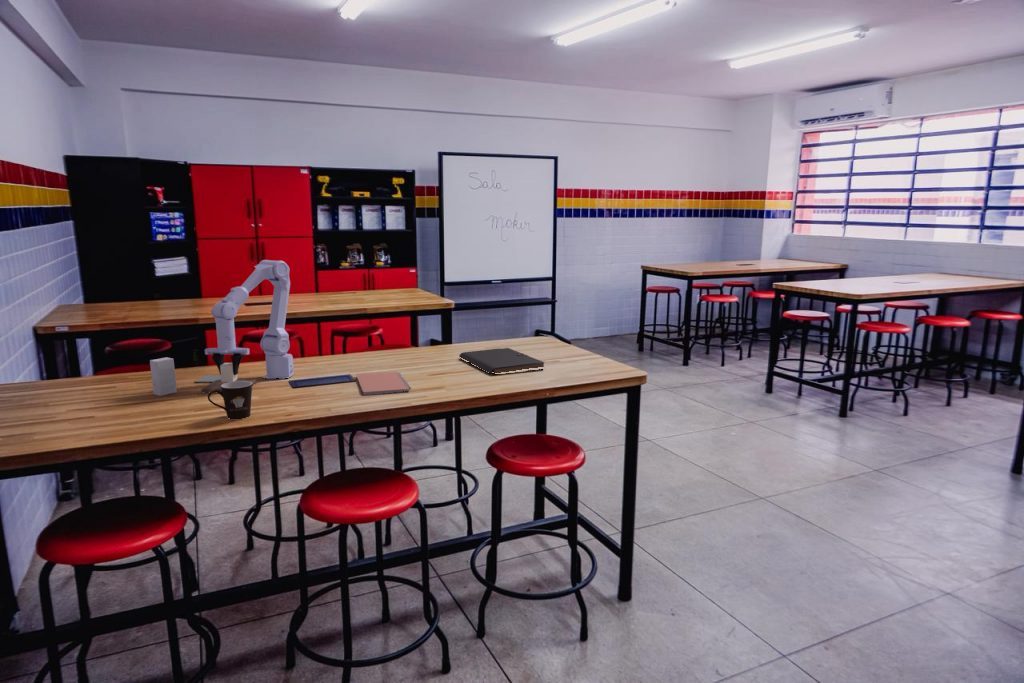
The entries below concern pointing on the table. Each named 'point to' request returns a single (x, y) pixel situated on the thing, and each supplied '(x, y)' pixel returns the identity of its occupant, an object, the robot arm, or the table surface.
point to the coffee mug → (235, 399)
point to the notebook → (382, 383)
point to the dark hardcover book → (501, 360)
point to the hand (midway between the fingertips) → (229, 374)
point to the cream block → (227, 373)
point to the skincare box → (163, 376)
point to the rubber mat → (208, 379)
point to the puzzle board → (219, 385)
